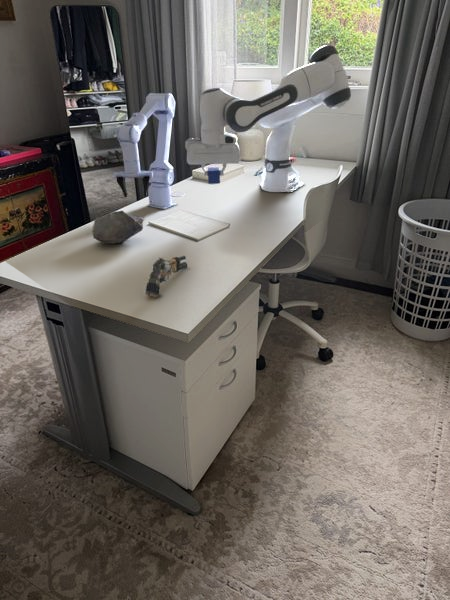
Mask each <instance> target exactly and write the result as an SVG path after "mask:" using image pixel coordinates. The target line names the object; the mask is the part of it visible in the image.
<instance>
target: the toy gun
mask: <svg viewBox="0 0 450 600" xmlns="http://www.w3.org/2000/svg"><path fill="white" fill-rule="evenodd" d="M186 259H187V257H186V255H182V256H176V257H172V258H169V259H165V258H163V257H159V258H158V259H157V260H155V262H154V263H153V264H152V271H151V272H150V274H149V278H148V281H147V283H146V286H145V295H146V296H148V297H153V298H158V297H159V295H160V290H161V284H162V283H163V282H168V281H169V278H170V277H169V276H171V275H172V274H173V273H178V272H179V271H182V270H184V269H187V268H188V263H187V262H186V261H184V260H186ZM181 261H183V262H181Z"/></svg>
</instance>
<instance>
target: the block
mask: <svg viewBox="0 0 450 600" xmlns="http://www.w3.org/2000/svg"><path fill="white" fill-rule="evenodd" d="M207 170H208V176H207V182H208V184H221V176H220V170H221V168H220V167H216V166H215V167H208V168H207Z"/></svg>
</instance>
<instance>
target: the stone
mask: <svg viewBox="0 0 450 600" xmlns="http://www.w3.org/2000/svg"><path fill="white" fill-rule="evenodd" d="M143 223H144V218H143V217H141V216H135V215H133V214H129V213H127V212H124V210H119V211H111V212H109V213H107V214H105V215H101V216H100V217H99V216H97V217H95V219H94V222H93V228H92V230H91V231H92V236H93V239H94V240H96V241H98V242H100V243H108V244H119V243H124V242H126V241H128V240H129V239H130V238H132V237H134V236H135V235H137V234H139V233H140V232H142V231H143V229H144V225H143Z"/></svg>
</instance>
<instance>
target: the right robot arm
mask: <svg viewBox="0 0 450 600" xmlns="http://www.w3.org/2000/svg"><path fill="white" fill-rule="evenodd" d="M351 91H352V90H351V87H350V85H349V81H348V77H347V71H346V70H345V68H344V65H343V62H342V60H341V58H340V56H339V52H338V49H337V48H336V47H335V46H334V45H331V44H327V45H322V46H320V47H319V48H317V49H315V51H314V52H313V53H311V55H310V58H309V64H306V65H303V66H301V67H298V68H296V69H293V70H291V71H290V72H289V73H287V74H285V75H284V76H282V78H281V79H280V81H279V84H278V86H277V87H276V88H275V89H274V90H272V91H270V92H269V93H266V94H263V95H262V96H259V97H257V98H255V99H252V100H250V99H249V100H246V99H242V98H241V97H238V96H235V95H232V94H231V93H229V92H227V91H225V90H224V89H223V88H221V87H212V88H208V89H206V90H204V91H203V92H202V93H201V95H200V98H199V117H200V121H201V125H200V137H189V138H188V139H186V140H185V142H184V148H185V150H186V163H187V164H188V165H191V166H192V165H200V166H201V169H202V171H203V172H204V177H208V169H206V168H205V167H206V165H222V168H221V169H220V177H223V176H224V175H225V174H224V172H225V170H226V168H227V164H228V165H229V164H230V165H232V164H233V165H234V164H239V163H241V151H240V146H239V144H238V137H237V135H236V134H234V133H231V132H227V131H226V126H228V127H229V128H230V129H231V130H232V131H234V132H237V133H246V132H248V131H250V130H251V129H252V128H253V127H254V126H255V125H256V124H257V123H258V124H259V125H260V126H261V127H263V128H265V129H271V131H270V134H269V136H268V137H267V139H266V142H265V158H264V168H263V169H262V170H263V171H262V174H261V182H260V188H261V190H263V191H265V192H269V193H292V192H294V191H296V190H297V189H299V188H301V187H303V186H304V182H302V181H300V173H299V171H297V170H296V169H295V167H293V166H292V163H295V161H296V158H295V157H290V155H291V145H292V144H291V143H292V139H293V138H292V137H293V134H294V131H295V128H296V124H297V123H298V122H299V120H300V118H301V116H303V115H306V114H307V113H309V112H311V111H312V110H314V109H316V108H318V107H319V106H322V105H324V106H325V108H326V109H329V110H334V109H336V110H337V109H340V108H342V107H343V106H345V105H346V104H347V103H348V102H349V101H350V99H351V96H352V92H351Z"/></svg>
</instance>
